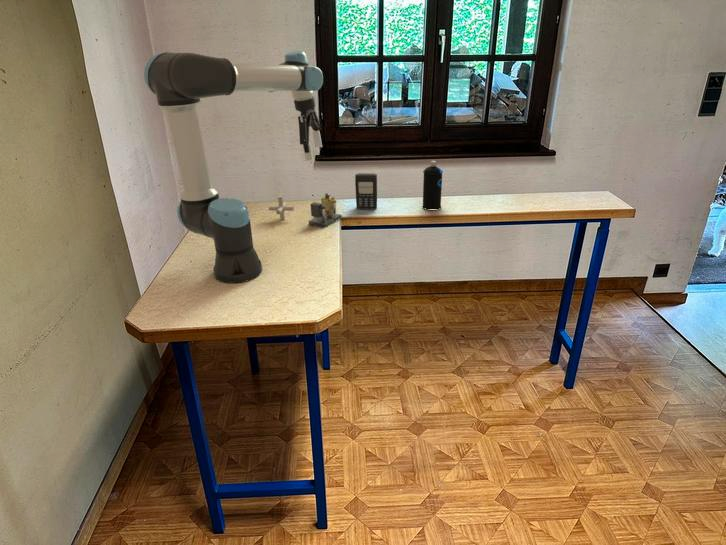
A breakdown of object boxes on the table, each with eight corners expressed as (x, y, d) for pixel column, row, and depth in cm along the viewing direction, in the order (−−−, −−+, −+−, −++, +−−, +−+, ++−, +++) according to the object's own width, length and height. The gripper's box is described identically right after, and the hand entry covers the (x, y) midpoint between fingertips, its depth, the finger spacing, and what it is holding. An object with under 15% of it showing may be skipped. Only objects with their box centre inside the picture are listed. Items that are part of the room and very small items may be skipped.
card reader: (355, 209, 206) (354, 175, 199) (356, 206, 209) (355, 172, 202) (376, 209, 205) (376, 175, 198) (377, 206, 208) (377, 172, 201)
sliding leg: (333, 215, 193) (332, 196, 189) (322, 213, 196) (320, 194, 192) (338, 213, 196) (337, 194, 192) (327, 211, 199) (325, 192, 195)
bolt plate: (325, 227, 187) (323, 207, 183) (308, 224, 191) (307, 204, 187) (341, 218, 196) (340, 198, 193) (325, 215, 200) (324, 195, 196)
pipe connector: (297, 215, 200) (295, 192, 196) (291, 224, 192) (289, 200, 187) (274, 215, 201) (271, 192, 197) (267, 224, 192) (264, 200, 188)
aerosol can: (422, 210, 202) (424, 163, 193) (421, 204, 209) (422, 159, 200) (442, 210, 202) (444, 163, 193) (440, 204, 209) (442, 158, 200)
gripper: (303, 107, 163) (315, 165, 175) (322, 87, 183) (331, 141, 195) (283, 108, 165) (295, 166, 177) (303, 89, 185) (313, 142, 197)
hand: (314, 153), depth 186 cm, fingers open, 13 cm apart
